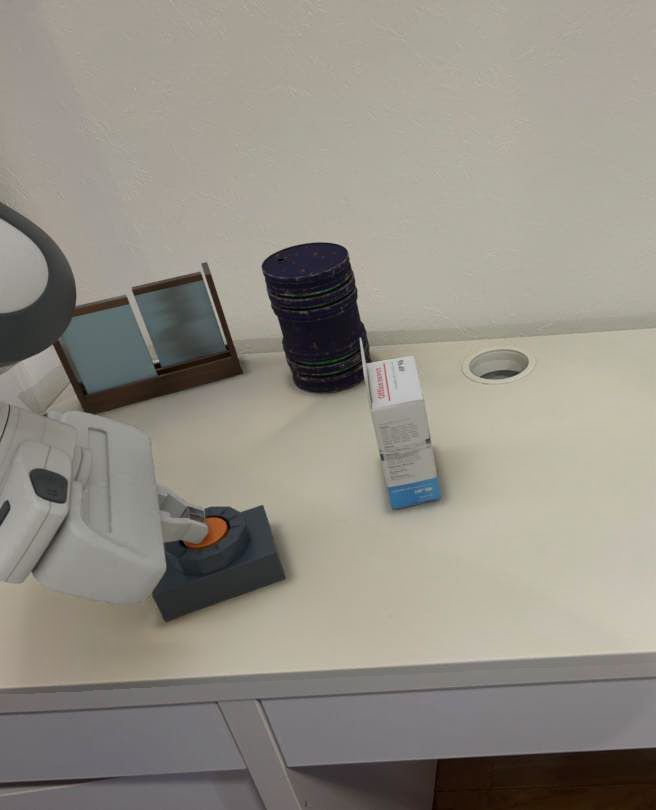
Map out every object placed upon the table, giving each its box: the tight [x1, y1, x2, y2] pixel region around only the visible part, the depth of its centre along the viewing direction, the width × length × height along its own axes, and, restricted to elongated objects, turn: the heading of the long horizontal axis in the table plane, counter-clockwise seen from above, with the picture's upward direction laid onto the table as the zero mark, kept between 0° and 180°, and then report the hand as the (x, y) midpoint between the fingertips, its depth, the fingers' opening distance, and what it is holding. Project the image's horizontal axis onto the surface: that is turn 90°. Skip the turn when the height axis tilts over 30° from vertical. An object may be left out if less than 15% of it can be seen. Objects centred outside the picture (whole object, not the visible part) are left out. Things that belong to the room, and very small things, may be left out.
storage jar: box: [260, 241, 373, 395], centre depth 94 cm, size 10×10×15 cm
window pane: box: [61, 294, 158, 394], centre depth 90 cm, size 8×1×16 cm, turn 116°
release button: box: [183, 518, 229, 549], centre depth 68 cm, size 4×4×2 cm
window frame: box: [52, 261, 244, 415], centre depth 94 cm, size 18×4×14 cm, turn 116°
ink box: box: [360, 337, 441, 510], centre depth 75 cm, size 8×5×15 cm, turn 14°
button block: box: [151, 504, 287, 623], centre depth 69 cm, size 10×7×5 cm
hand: (203, 526), depth 67 cm, fingers closed, pressing on release button
